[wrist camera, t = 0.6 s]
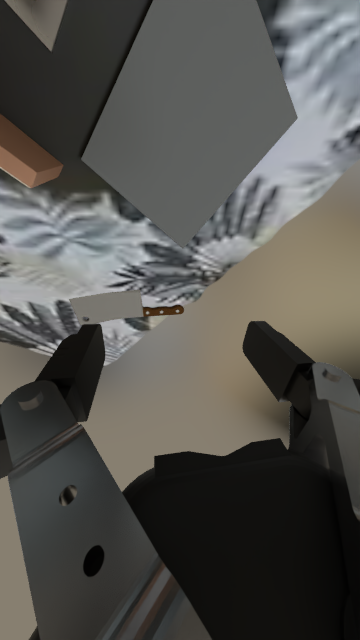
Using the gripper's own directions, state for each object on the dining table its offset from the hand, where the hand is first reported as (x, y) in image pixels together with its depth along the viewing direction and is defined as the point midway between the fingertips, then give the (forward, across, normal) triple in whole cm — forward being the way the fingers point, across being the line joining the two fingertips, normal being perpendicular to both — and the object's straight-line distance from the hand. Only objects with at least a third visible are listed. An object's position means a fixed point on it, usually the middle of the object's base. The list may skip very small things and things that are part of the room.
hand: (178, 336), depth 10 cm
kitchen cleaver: (+31, +5, +12) cm, 34 cm away
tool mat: (+24, -4, -15) cm, 29 cm away
